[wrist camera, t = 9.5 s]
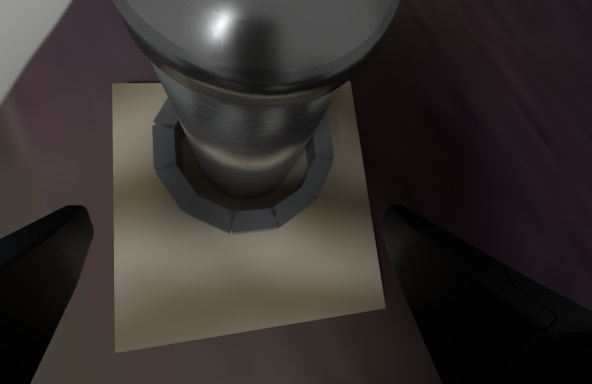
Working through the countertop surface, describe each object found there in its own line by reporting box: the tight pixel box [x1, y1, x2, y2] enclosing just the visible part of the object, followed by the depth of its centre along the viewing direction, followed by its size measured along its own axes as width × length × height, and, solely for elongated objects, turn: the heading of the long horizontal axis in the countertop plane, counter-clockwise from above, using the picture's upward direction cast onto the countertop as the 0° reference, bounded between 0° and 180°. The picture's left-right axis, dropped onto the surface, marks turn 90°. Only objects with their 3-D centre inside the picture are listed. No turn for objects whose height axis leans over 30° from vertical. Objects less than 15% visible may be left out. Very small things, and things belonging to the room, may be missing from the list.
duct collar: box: [152, 98, 334, 235], centre depth 16 cm, size 9×9×2 cm
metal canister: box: [112, 0, 400, 199], centre depth 11 cm, size 6×6×12 cm
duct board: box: [112, 81, 386, 353], centre depth 17 cm, size 14×14×1 cm
